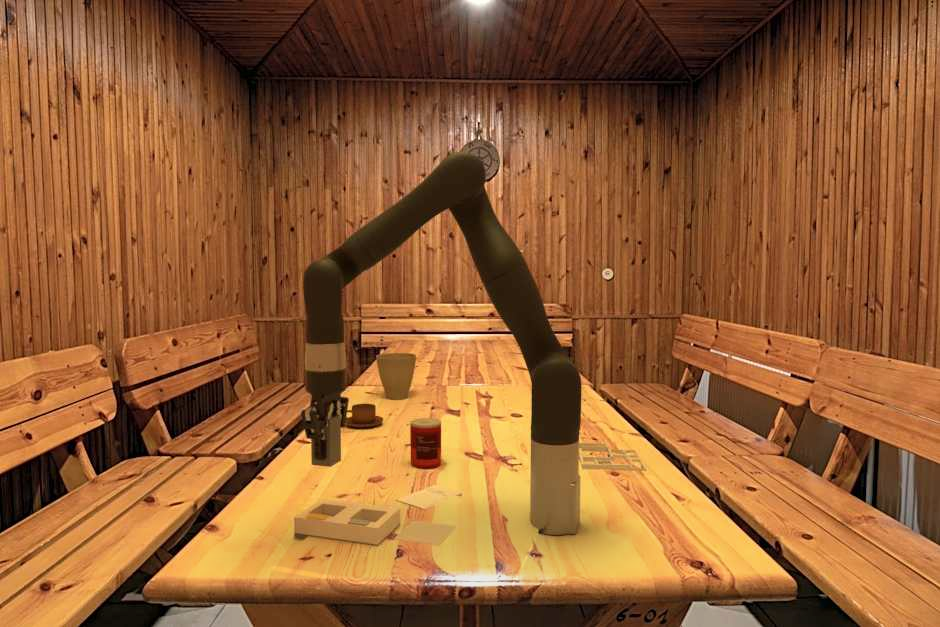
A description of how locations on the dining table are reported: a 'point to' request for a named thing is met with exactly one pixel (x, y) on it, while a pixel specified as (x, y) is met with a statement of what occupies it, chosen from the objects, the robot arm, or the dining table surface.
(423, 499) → the external hard drive
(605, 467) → the floor plan model
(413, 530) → the mat
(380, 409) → the dining table surface
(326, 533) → the socket block
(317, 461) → the plug
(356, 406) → the cup and saucer
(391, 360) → the plant pot
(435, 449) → the canned food
